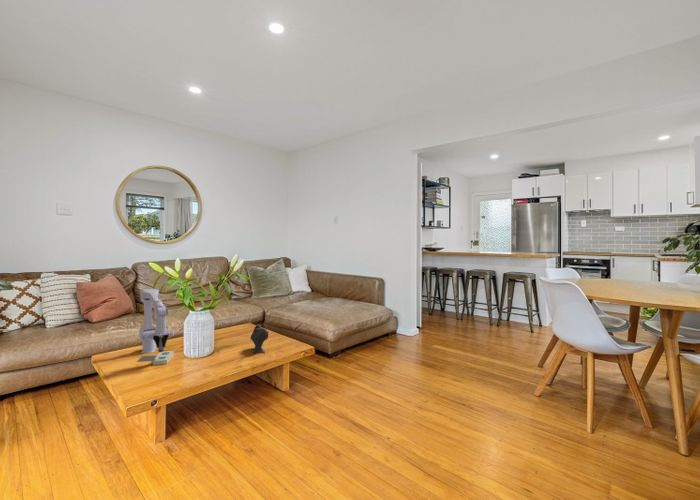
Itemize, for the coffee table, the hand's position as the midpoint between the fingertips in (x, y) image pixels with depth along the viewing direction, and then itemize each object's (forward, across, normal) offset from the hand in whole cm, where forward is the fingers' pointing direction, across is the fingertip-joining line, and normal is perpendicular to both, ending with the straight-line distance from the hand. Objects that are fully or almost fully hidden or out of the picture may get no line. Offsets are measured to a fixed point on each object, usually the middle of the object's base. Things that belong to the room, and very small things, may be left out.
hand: (161, 347), depth 211 cm
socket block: (+10, 0, +4) cm, 11 cm away
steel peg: (+3, 0, 0) cm, 3 cm away
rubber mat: (+10, -10, +8) cm, 16 cm away
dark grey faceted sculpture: (+10, +60, +13) cm, 63 cm away
